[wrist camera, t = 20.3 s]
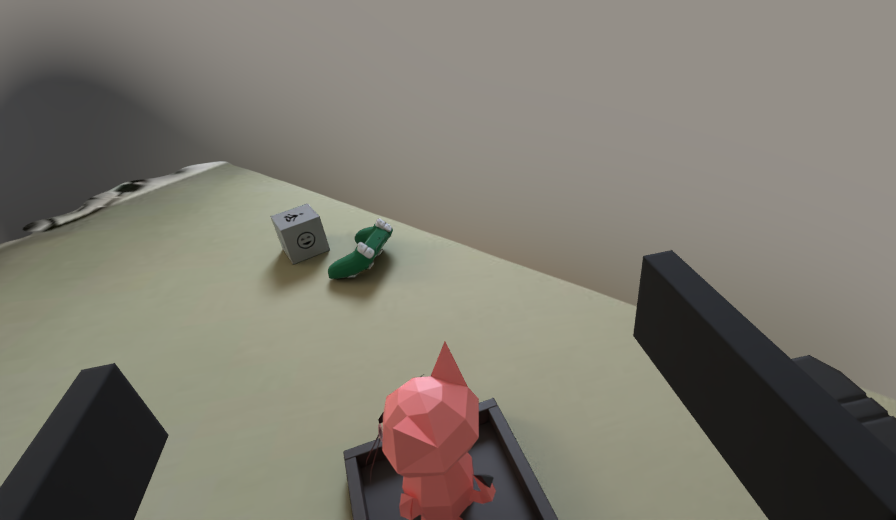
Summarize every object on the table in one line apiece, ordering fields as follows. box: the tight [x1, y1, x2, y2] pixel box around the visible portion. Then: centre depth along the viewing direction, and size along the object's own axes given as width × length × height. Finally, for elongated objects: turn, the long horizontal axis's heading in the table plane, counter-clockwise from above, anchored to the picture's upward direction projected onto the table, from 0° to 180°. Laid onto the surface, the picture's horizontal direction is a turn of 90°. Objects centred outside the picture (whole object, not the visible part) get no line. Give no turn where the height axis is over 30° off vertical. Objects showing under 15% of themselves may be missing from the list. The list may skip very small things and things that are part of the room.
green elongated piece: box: [328, 219, 393, 279], centre depth 56 cm, size 9×4×6 cm
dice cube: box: [270, 203, 330, 264], centre depth 60 cm, size 5×5×5 cm
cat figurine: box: [365, 342, 496, 520], centre depth 27 cm, size 7×7×12 cm
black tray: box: [343, 398, 558, 520], centre depth 30 cm, size 12×12×2 cm
